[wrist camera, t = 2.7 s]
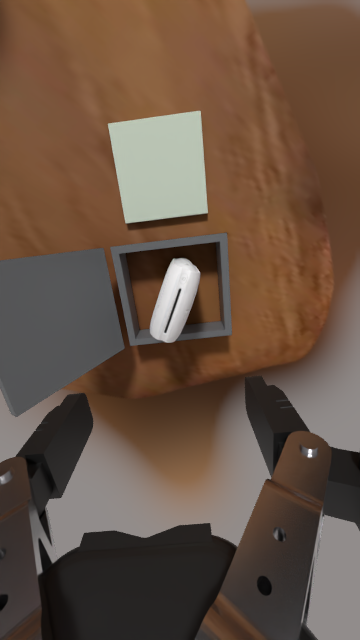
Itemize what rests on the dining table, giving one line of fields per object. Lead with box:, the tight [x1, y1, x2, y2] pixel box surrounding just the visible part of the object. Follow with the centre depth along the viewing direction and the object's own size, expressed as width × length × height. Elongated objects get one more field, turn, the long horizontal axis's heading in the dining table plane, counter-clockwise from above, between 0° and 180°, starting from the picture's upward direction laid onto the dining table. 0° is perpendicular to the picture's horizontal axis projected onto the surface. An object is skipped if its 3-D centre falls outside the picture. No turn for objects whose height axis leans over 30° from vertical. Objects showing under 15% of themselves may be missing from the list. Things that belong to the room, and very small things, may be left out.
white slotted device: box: [150, 258, 200, 343], centre depth 33 cm, size 10×4×12 cm, turn 161°
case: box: [110, 233, 232, 346], centre depth 37 cm, size 16×15×4 cm
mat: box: [108, 111, 208, 224], centre depth 33 cm, size 12×12×1 cm
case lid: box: [0, 248, 124, 417], centre depth 28 cm, size 16×15×2 cm
